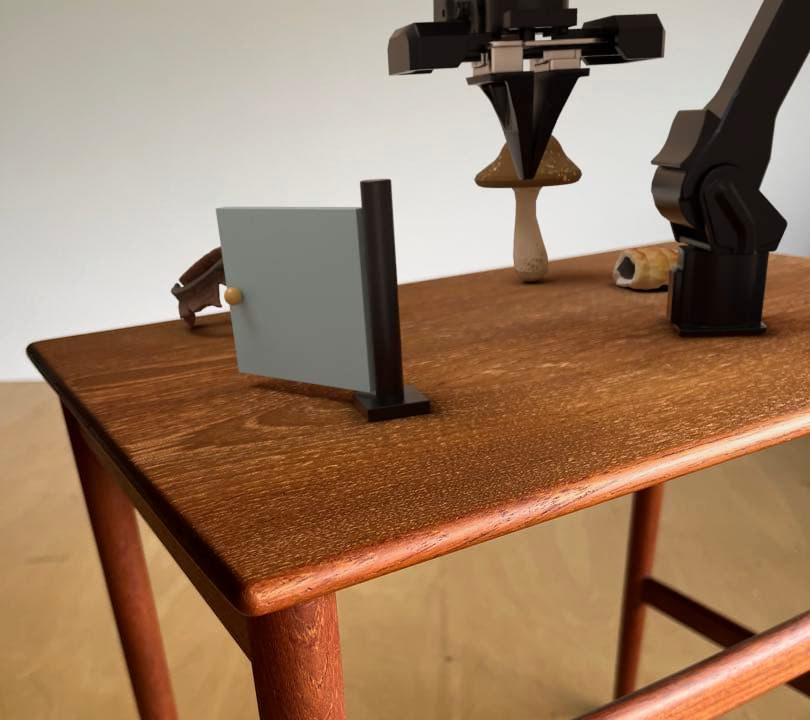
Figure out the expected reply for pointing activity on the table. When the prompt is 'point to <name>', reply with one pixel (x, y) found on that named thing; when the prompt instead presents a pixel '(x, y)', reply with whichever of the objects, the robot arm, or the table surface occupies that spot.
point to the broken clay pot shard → (200, 286)
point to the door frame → (384, 311)
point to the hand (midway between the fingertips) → (526, 179)
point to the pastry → (644, 267)
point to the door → (299, 293)
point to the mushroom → (529, 202)
